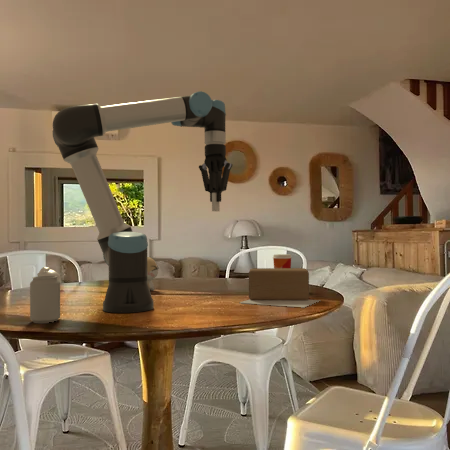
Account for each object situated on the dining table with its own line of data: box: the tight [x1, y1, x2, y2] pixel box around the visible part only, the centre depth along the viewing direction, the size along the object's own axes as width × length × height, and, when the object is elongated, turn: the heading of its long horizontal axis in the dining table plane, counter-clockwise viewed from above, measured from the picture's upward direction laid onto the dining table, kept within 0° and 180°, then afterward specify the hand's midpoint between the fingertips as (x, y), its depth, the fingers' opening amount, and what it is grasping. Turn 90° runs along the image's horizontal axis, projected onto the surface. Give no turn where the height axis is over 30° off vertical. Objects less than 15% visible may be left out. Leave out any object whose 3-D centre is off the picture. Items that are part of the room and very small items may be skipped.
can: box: [29, 276, 61, 324], centre depth 126 cm, size 8×8×12 cm
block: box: [248, 267, 310, 300], centre depth 162 cm, size 10×10×20 cm
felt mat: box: [239, 298, 321, 309], centre depth 155 cm, size 16×22×1 cm
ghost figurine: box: [36, 266, 62, 284], centre depth 189 cm, size 9×9×10 cm
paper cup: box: [272, 253, 293, 268], centre depth 188 cm, size 8×8×14 cm
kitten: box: [147, 256, 160, 292], centre depth 189 cm, size 15×10×15 cm
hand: (215, 211), depth 168 cm, fingers closed
